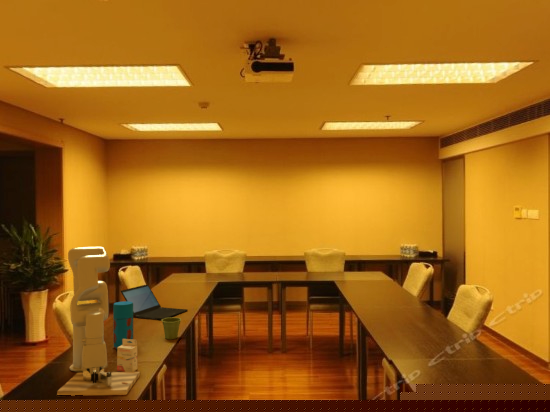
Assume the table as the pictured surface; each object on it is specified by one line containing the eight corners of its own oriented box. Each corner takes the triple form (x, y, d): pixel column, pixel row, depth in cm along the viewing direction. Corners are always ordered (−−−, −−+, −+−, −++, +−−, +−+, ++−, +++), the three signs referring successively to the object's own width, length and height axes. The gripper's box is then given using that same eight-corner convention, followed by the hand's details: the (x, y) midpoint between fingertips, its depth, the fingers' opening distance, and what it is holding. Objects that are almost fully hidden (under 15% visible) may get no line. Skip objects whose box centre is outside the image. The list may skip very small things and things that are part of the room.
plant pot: (163, 341, 275) (163, 322, 275) (159, 336, 285) (159, 318, 285) (183, 339, 279) (183, 320, 280) (179, 334, 290) (178, 316, 290)
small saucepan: (79, 377, 211) (79, 364, 211) (98, 372, 217) (98, 360, 217) (100, 389, 197) (100, 376, 197) (119, 383, 203) (119, 370, 203)
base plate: (77, 376, 218) (77, 372, 218) (139, 375, 219) (139, 371, 219) (57, 395, 196) (57, 390, 196) (126, 394, 197) (126, 389, 197)
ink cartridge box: (116, 371, 225) (116, 341, 225) (122, 368, 230) (122, 338, 230) (132, 372, 223) (132, 342, 223) (137, 369, 228) (137, 339, 228)
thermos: (110, 346, 265) (109, 303, 265) (127, 342, 272) (127, 300, 273) (119, 350, 257) (119, 306, 257) (136, 346, 265) (136, 303, 265)
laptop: (163, 321, 326) (163, 293, 326) (120, 317, 339) (119, 290, 339) (188, 311, 357) (188, 286, 357) (147, 307, 370) (147, 283, 370)
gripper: (75, 344, 197) (75, 387, 197) (112, 340, 202) (112, 382, 202) (76, 339, 204) (76, 381, 204) (112, 336, 209) (112, 376, 209)
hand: (94, 382), depth 203 cm, fingers closed
